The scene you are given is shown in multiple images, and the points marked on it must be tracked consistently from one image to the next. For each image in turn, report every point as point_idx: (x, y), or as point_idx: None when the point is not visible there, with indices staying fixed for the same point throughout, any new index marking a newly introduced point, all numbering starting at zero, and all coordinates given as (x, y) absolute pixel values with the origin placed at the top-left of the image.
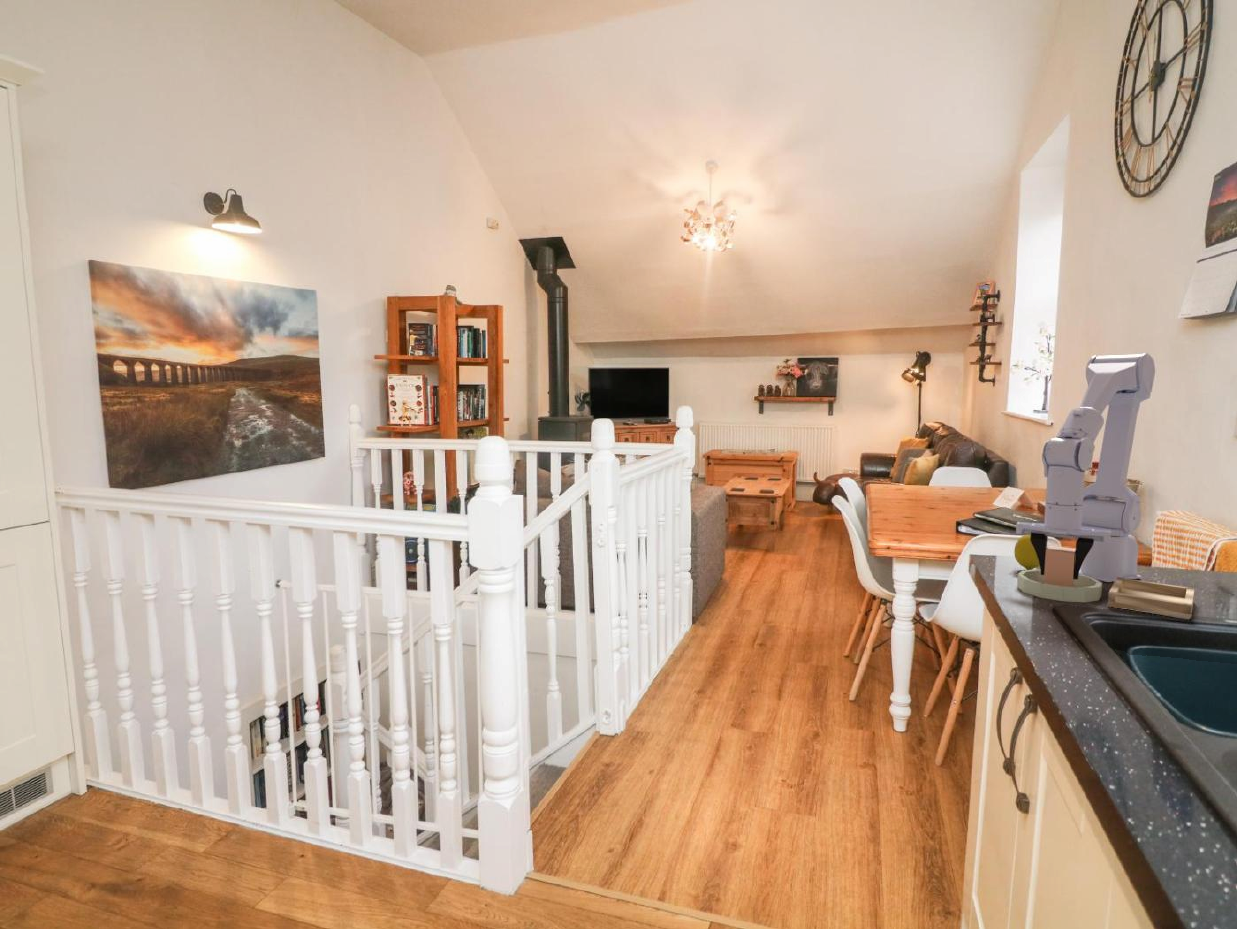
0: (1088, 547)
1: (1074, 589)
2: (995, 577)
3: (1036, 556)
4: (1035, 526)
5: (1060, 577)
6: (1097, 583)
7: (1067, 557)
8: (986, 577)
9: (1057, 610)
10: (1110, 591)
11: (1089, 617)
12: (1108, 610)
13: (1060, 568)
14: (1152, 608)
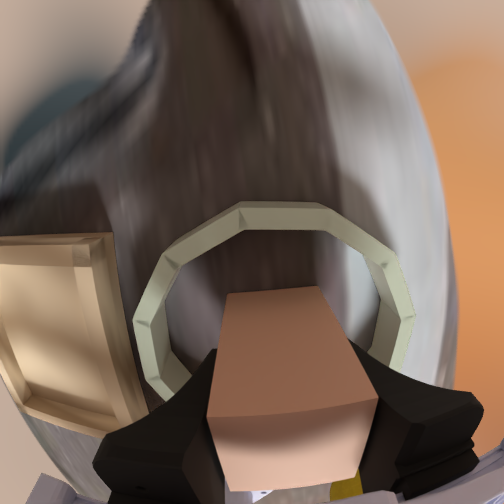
0: (111, 439)
1: (199, 230)
2: (437, 360)
3: (353, 483)
4: (498, 492)
5: (270, 323)
6: (152, 363)
7: (247, 392)
8: (456, 343)
9: (237, 66)
10: (88, 268)
11: (142, 60)
12: (104, 190)
13: (276, 347)
14: (18, 239)
